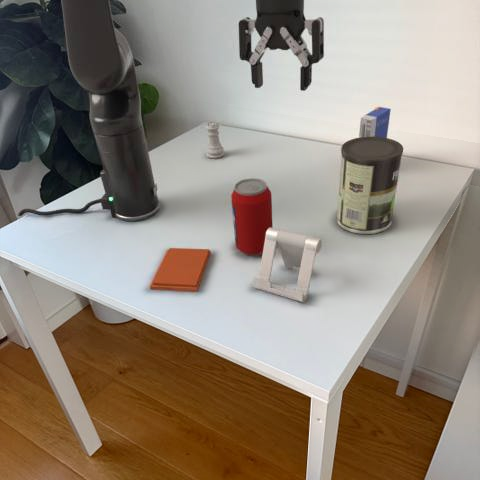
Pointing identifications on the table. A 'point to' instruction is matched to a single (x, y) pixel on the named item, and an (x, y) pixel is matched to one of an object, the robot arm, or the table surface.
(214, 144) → the rook chess piece
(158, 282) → the folded cloth
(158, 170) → the table surface
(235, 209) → the beverage can
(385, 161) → the coffee can
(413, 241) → the table surface
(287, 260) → the tablet stand
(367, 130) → the walkman
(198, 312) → the table surface
